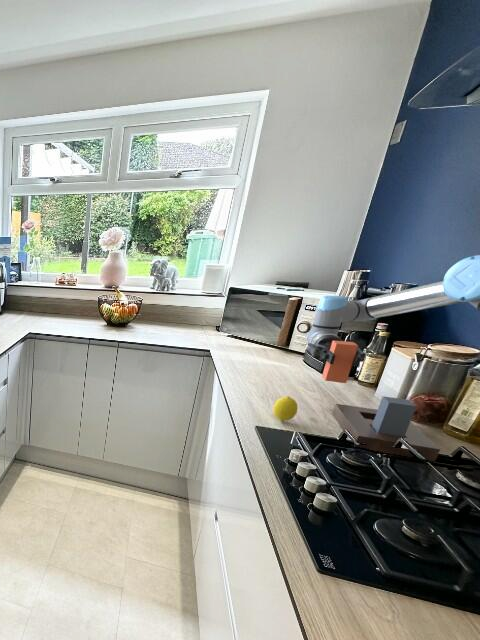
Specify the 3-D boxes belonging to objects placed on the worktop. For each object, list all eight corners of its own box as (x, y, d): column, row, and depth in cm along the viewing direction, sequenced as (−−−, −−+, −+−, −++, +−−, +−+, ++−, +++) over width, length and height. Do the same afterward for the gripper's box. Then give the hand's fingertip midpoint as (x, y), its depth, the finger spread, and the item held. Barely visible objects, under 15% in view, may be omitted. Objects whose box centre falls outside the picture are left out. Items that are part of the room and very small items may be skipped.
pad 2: (392, 440, 107) (408, 399, 103) (399, 448, 103) (416, 406, 99) (367, 436, 110) (382, 396, 106) (373, 444, 106) (389, 402, 101)
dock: (397, 423, 117) (401, 412, 116) (434, 462, 97) (440, 449, 96) (331, 413, 124) (335, 403, 123) (354, 447, 104) (358, 435, 103)
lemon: (279, 416, 123) (285, 392, 120) (297, 423, 118) (305, 398, 115) (265, 418, 121) (272, 394, 119) (284, 426, 116) (291, 400, 114)
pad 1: (342, 378, 127) (353, 342, 123) (346, 383, 123) (358, 345, 119) (321, 376, 129) (332, 340, 125) (325, 380, 125) (336, 343, 121)
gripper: (359, 358, 135) (381, 377, 116) (292, 352, 144) (303, 368, 125) (366, 337, 132) (390, 352, 114) (297, 331, 141) (310, 345, 122)
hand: (345, 360), depth 119 cm, fingers closed on pad 1, 5 cm apart
